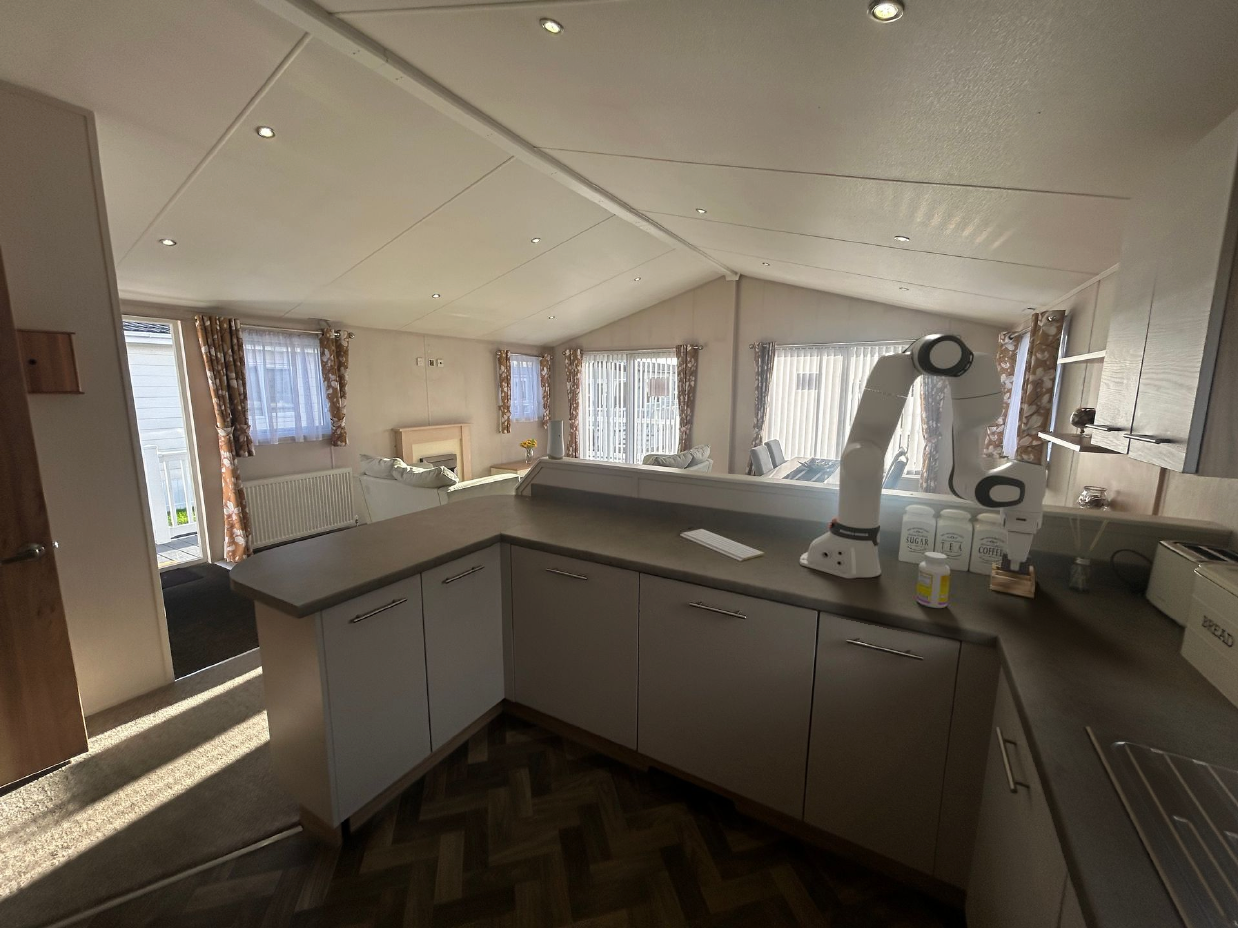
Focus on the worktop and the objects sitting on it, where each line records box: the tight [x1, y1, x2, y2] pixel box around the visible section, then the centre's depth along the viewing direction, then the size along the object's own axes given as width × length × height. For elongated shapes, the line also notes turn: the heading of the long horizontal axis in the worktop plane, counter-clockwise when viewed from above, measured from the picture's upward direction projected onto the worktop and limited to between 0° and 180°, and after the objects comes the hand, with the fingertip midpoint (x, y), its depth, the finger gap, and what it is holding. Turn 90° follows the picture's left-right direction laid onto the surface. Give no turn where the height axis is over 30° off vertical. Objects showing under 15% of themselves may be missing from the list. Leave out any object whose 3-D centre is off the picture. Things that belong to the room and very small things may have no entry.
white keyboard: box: [678, 526, 765, 562], centre depth 168 cm, size 31×3×12 cm
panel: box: [1000, 550, 1032, 576], centre depth 134 cm, size 6×2×6 cm, turn 51°
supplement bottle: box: [915, 551, 951, 609], centre depth 122 cm, size 7×7×13 cm
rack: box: [989, 562, 1036, 599], centre depth 135 cm, size 9×18×4 cm, turn 142°
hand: (1014, 567), depth 134 cm, fingers closed on panel, 2 cm apart
